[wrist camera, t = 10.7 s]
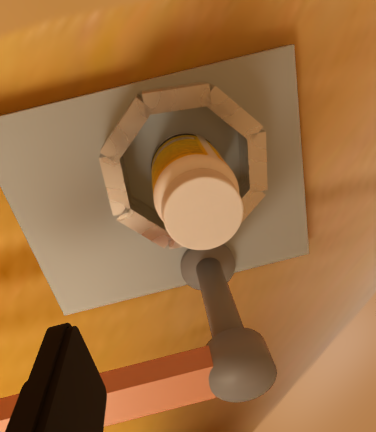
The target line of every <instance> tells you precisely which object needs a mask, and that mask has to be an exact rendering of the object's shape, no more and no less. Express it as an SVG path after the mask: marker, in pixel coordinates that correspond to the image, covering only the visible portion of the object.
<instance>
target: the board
mask: <svg viewBox="0 0 376 432" xmlns="http://www.w3.org/2000/svg"><path fill="white" fill-rule="evenodd" d="M201 81H203V82H206V83H210V84H213V85H215V86H216V87H218V88H219V89H220V90H221V91H222V92H224V93H225V94H226V95H227V96H228V97H229V98H231V99H232V100H233V101H234V102H235V103H236V104H238V105H239V106H240V107H241V108H242V109H244V110H245V111H246V112H247V113H248V114H249V115H251V116H252V117H253V118H254V119H255V120H257V121H258V122H259V123H260V124H261V125H262V126H264V127H263V128H262V130H264V131H266V150H267V184H268V190H265V191H263V193H264V194H265V197H264V198H263V199H262V200H261V201H260V202H259V204H258V205H257V206H256V207H255V208H254V209H253V210H252V212H251V213H250V214H249V215H248V216H247V217H246V218H245V220H244V221H243V222H242V223H241V224H240V227H239V229H238V230H237V232H236V233H235V234H234V235H233V237H232V238H230V239H229V240H228V241H227V242H225V243H224V244H222V245H220V246H218V247H215V248H212V249H208V250H193V249H189V248H186V247H181V248H175V249H169V244H168V245H167V246H166V247H165V248H163V247H161V246H159V245H157V244H156V243H154V242H152V241H151V240H149V239H147V238H146V237H144V236H142V235H141V234H139V233H137V232H136V231H134V230H132V229H131V228H129V227H127V226H125V225H124V224H122V223H120V222H119V221H117V220H116V219H117V215H114V216H113V213H112V209H111V205H110V202H109V198H108V194H107V190H106V186H105V182H104V178H103V174H102V170H101V166H100V162H99V156H100V154H101V153H100V150H101V148H102V146H103V144H104V142H105V141H106V139H107V138H108V136H109V135H110V133H111V132H112V130H113V129H114V127H115V126H116V124H117V123H118V121H119V120H120V118H121V117H122V115H123V114H124V112H125V111H126V109H127V108H128V106H129V105H130V103H131V102H132V100H133V99H134V97H135V96H136V94H139V95H140V96H141V97H142V90H147V89H154V88H160V87H167V86H174V85H180V84H187V83H194V82H201ZM177 133H194V134H197V135H200V136H202V137H204V138H205V139H207V140H208V141H209V142H210V143H211V144H212V145H213V147H214V148H215V149H216V150H217V152H218V153H219V154H220V155H221V157H222V158H223V159H224V161H225V162H226V163H227V165H228V166H229V167H230V168H231V170H232V171H233V173H234V175H235V177H236V179H237V181H238V179H239V178H240V163H239V148H238V133H237V131H236V130H235V129H234V128H232V127H231V126H230V125H229V124H227V123H226V122H225V121H224V120H223V119H221V118H220V117H219V116H218V115H216V114H215V113H214V112H213V111H211V110H210V109H209V108H208V107H207V106H205V107H198V108H191V109H185V110H178V111H172V112H165V113H159V114H152V115H150V116H149V118H148V119H147V121H146V122H145V123H144V125H143V126H142V128H141V129H140V131H139V132H138V134H137V135H136V136H135V138H134V139H133V141H132V142H131V144H130V145H129V146H128V148H127V149H126V151H125V152H124V154H123V157H124V162H125V166H126V171H127V175H128V180H129V185H130V189H131V194H132V195H133V196H134V197H136V198H137V199H139V200H141V201H142V202H144V203H145V204H147V205H149V206H150V207H152V208H153V209H155V205H154V200H153V187H152V174H151V162H152V158H153V155H154V152H155V150H156V149H157V147H158V146H159V145H160V143H161V142H162V141H164V140H165V139H166V138H168V137H169V136H172V135H174V134H177ZM0 187H1V189H2V191H3V193H4V195H5V197H6V199H7V201H8V203H9V205H10V207H11V209H12V211H13V213H14V215H15V217H16V219H17V221H18V223H19V225H20V227H21V229H22V231H23V233H24V235H25V237H26V239H27V241H28V243H29V245H30V247H31V249H32V251H33V253H34V255H35V257H36V259H37V261H38V263H39V265H40V267H41V269H42V271H43V273H44V275H45V277H46V279H47V281H48V283H49V285H50V287H51V289H52V291H53V293H54V295H55V297H56V299H57V301H58V303H59V305H60V307H61V309H62V312H63V314H64V316H65V315H69V314H73V313H77V312H81V311H85V310H89V309H93V308H97V307H101V306H105V305H109V304H113V303H117V302H121V301H124V300H128V299H132V298H136V297H140V296H144V295H148V294H152V293H156V292H160V291H164V290H168V289H172V288H176V287H180V286H184V285H189V286H191V287H192V288H194V289H197V290H201V292H202V297H203V301H204V305H205V309H206V313H207V317H208V321H209V326H210V330H211V334H212V338H213V337H214V336H216V335H217V334H219V333H220V332H222V331H225V330H228V329H231V328H244V327H243V324H242V322H241V319H240V316H239V313H238V311H237V308H236V305H235V303H234V300H233V297H232V294H231V292H230V289H229V286H228V284H227V282H228V281H229V280H230V279H231V277H232V276H233V274H234V273H235V272H239V271H243V270H247V269H251V268H255V267H259V266H263V265H267V264H271V263H275V262H279V261H283V260H287V259H291V258H295V257H299V256H303V255H307V254H309V244H308V230H307V216H306V202H305V188H304V174H303V160H302V146H301V132H300V118H299V104H298V90H297V76H296V62H295V49H294V44H293V45H285V46H281V47H277V48H273V49H269V50H265V51H261V52H257V53H253V54H249V55H244V56H240V57H236V58H232V59H228V60H224V61H220V62H216V63H212V64H208V65H204V66H200V67H196V68H192V69H187V70H183V71H179V72H175V73H171V74H167V75H163V76H159V77H155V78H151V79H147V80H143V81H139V82H134V83H130V84H126V85H122V86H118V87H114V88H110V89H106V90H102V91H98V92H94V93H90V94H86V95H81V96H77V97H73V98H69V99H65V100H61V101H57V102H53V103H49V104H45V105H41V106H37V107H33V108H28V109H24V110H20V111H16V112H12V113H8V114H4V115H0ZM155 210H156V209H155Z"/></svg>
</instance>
